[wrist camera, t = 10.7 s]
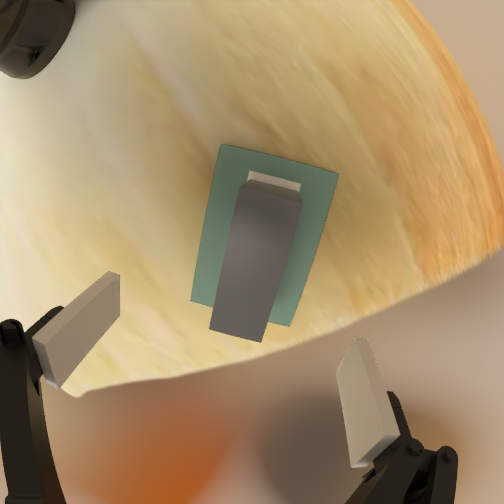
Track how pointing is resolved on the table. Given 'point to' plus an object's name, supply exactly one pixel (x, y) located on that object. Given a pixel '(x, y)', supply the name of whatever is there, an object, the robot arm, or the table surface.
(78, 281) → the table surface
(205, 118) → the table surface
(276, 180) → the green peg board
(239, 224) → the block
